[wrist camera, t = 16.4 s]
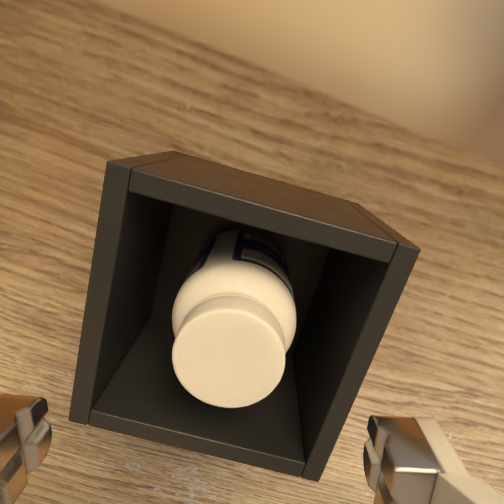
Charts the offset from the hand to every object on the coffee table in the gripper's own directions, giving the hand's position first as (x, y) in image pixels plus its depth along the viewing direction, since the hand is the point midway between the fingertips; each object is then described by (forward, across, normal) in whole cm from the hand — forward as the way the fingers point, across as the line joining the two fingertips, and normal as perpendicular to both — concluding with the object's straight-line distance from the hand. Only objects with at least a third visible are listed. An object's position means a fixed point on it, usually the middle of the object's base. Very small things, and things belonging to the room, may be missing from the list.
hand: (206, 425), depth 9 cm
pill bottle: (+12, 0, 0) cm, 13 cm away
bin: (+13, 0, 0) cm, 13 cm away
